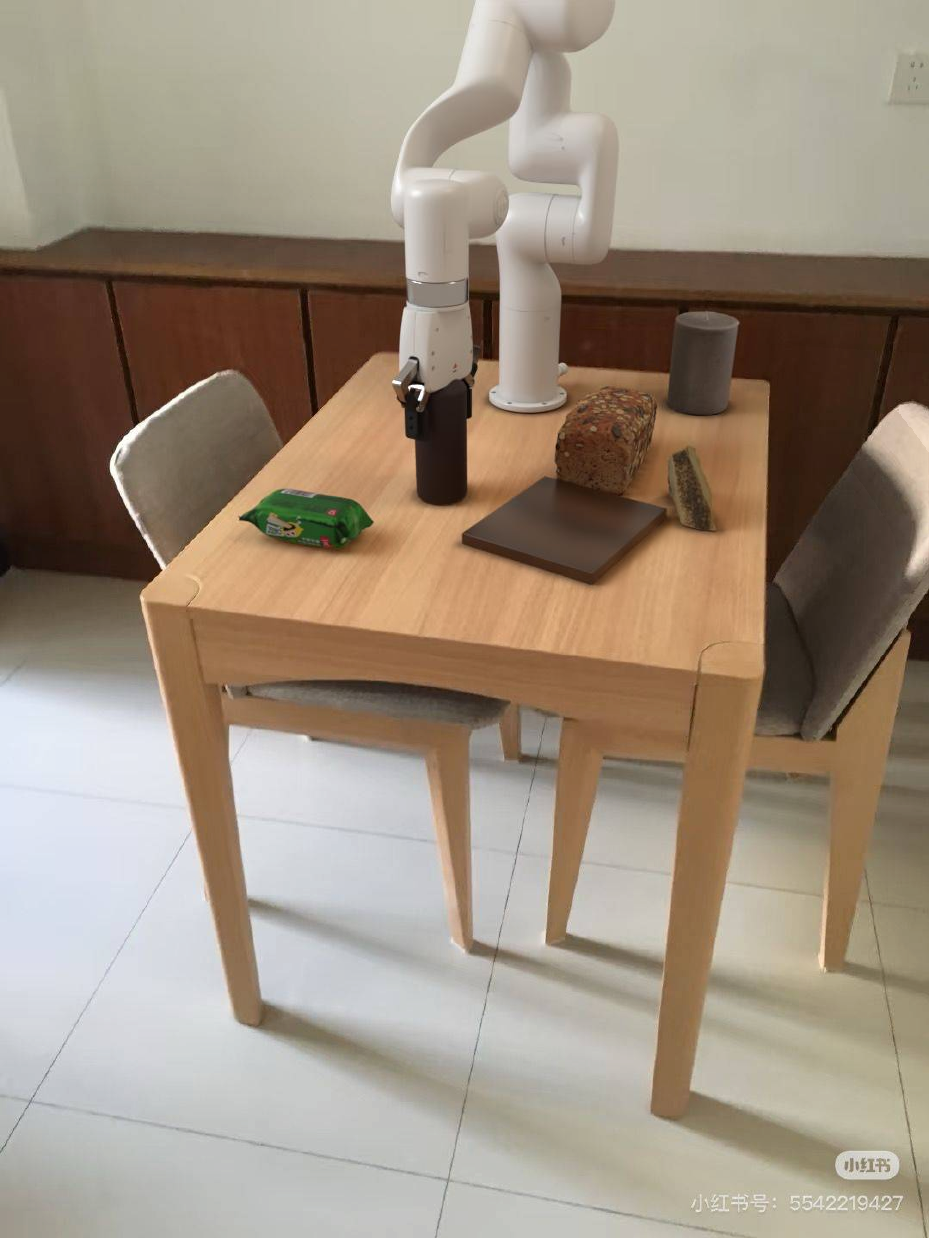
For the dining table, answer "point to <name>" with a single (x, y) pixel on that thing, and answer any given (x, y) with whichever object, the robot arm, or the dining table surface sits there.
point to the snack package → (309, 518)
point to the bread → (605, 439)
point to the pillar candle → (702, 362)
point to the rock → (690, 490)
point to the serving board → (565, 528)
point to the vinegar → (443, 446)
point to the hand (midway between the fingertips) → (439, 427)
